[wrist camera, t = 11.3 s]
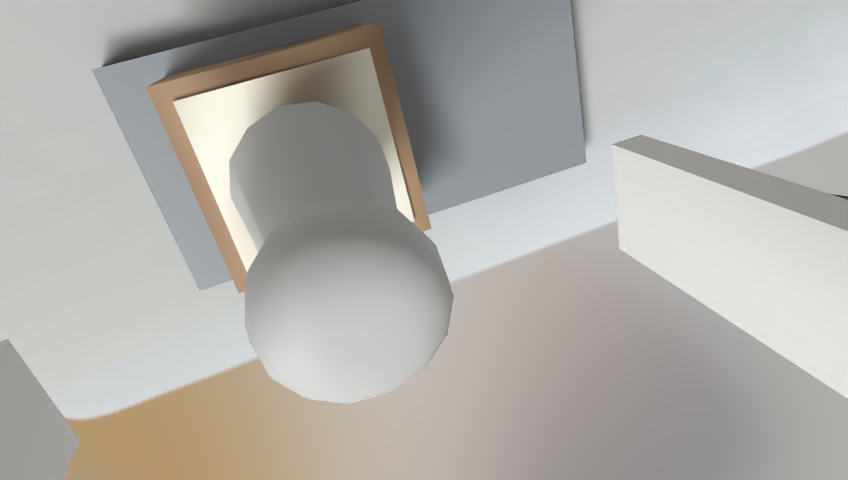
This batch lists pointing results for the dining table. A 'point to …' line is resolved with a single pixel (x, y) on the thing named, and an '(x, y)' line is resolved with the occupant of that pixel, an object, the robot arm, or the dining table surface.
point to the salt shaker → (333, 258)
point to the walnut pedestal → (261, 93)
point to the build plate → (418, 93)
